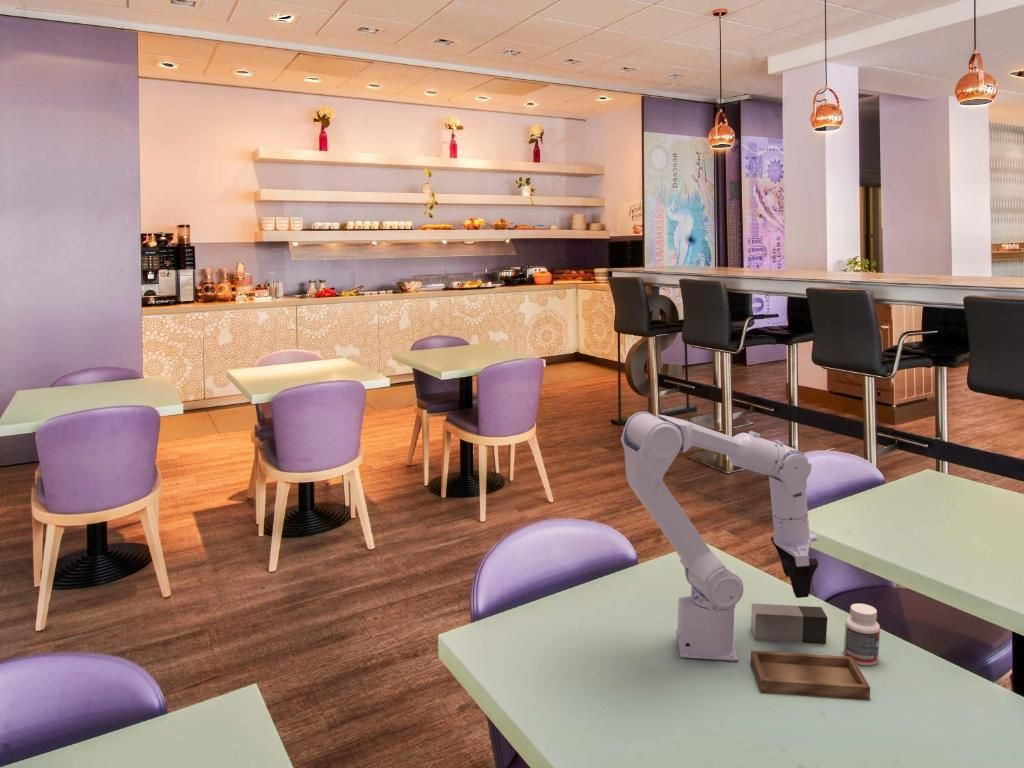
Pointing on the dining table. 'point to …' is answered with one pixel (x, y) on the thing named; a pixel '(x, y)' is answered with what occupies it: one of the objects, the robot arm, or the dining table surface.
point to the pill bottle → (862, 635)
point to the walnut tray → (809, 675)
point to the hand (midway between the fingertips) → (796, 585)
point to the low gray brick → (788, 623)
